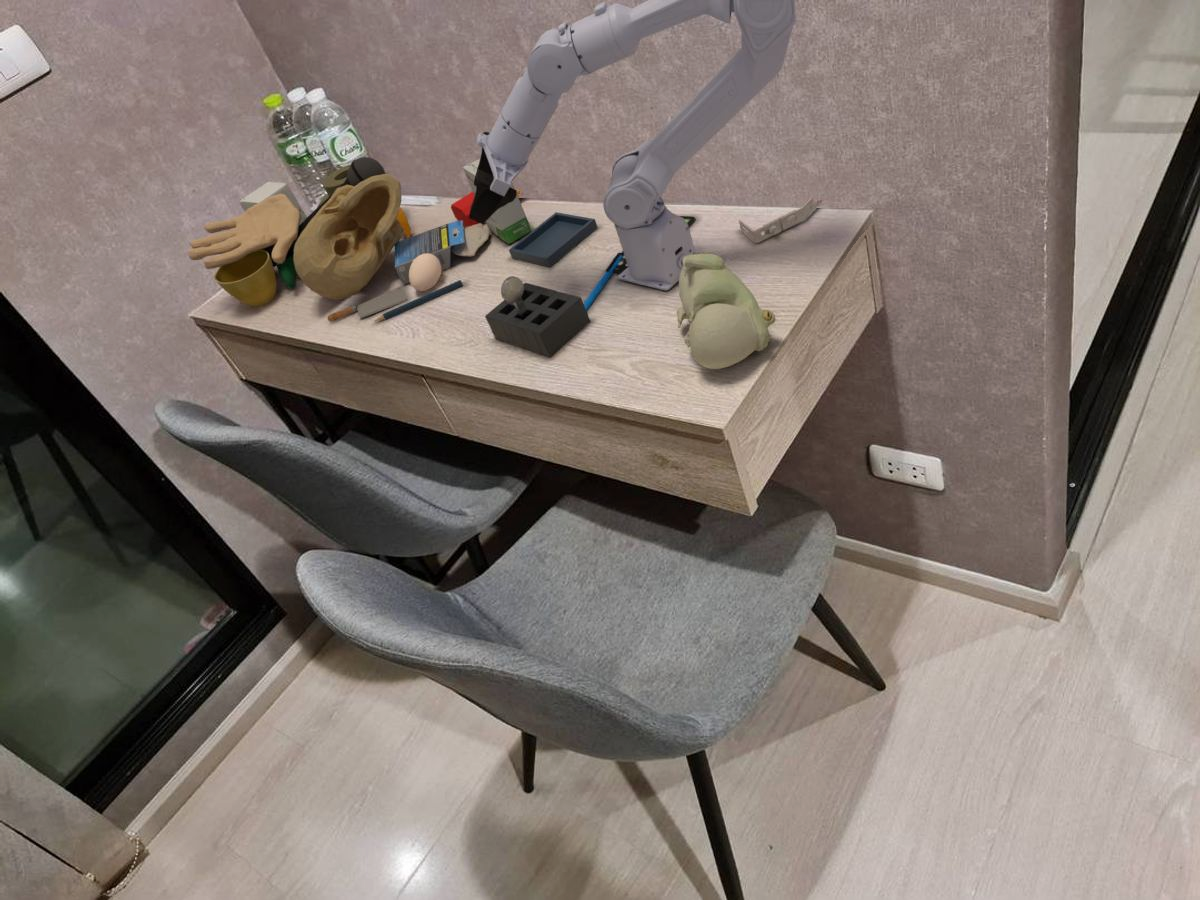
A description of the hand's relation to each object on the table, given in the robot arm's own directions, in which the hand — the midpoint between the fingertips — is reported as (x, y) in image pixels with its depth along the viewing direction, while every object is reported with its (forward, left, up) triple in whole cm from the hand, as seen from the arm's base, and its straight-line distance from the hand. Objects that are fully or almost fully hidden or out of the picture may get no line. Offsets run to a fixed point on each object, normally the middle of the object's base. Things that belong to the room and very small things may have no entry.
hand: (478, 202), depth 117 cm
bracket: (-34, -35, -14) cm, 51 cm away
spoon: (-11, +7, -15) cm, 20 cm away
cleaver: (+23, +14, -15) cm, 31 cm away
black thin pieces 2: (+60, +19, -9) cm, 63 cm away
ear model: (+25, +3, -1) cm, 25 cm away
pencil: (+13, +1, -15) cm, 20 cm away
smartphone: (-13, -17, -16) cm, 27 cm away
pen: (-12, -5, -16) cm, 21 cm away
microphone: (+51, +7, -9) cm, 52 cm away
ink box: (+17, -13, -15) cm, 26 cm away
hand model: (+51, +4, -4) cm, 52 cm away
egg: (+20, 0, -12) cm, 24 cm away
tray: (+5, -13, -15) cm, 21 cm away
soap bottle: (+61, -5, -13) cm, 62 cm away
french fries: (+28, -12, -13) cm, 34 cm away
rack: (-11, +5, -15) cm, 19 cm away
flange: (+42, -5, -6) cm, 42 cm away
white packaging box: (+63, +4, -16) cm, 65 cm away
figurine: (-34, +1, -10) cm, 36 cm away
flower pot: (+53, +18, -15) cm, 58 cm away
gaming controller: (+49, +10, -16) cm, 52 cm away
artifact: (+24, -11, -14) cm, 30 cm away
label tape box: (+28, +3, -13) cm, 31 cm away
